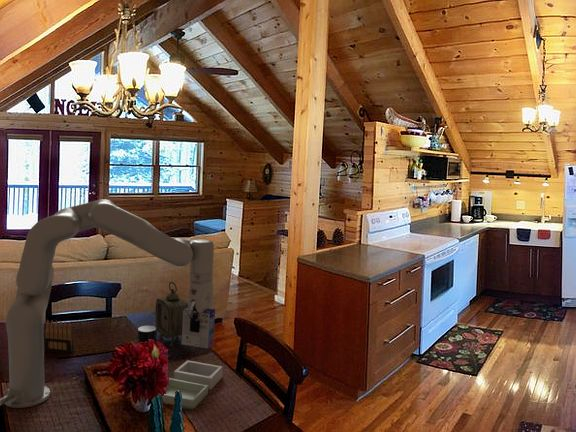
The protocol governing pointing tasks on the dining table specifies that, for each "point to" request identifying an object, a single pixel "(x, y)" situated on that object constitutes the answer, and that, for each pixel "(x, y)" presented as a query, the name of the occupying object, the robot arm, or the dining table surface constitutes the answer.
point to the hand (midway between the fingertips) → (198, 328)
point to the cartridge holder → (206, 373)
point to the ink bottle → (147, 333)
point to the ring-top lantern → (170, 315)
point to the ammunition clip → (58, 338)
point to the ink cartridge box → (205, 329)
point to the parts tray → (186, 393)
